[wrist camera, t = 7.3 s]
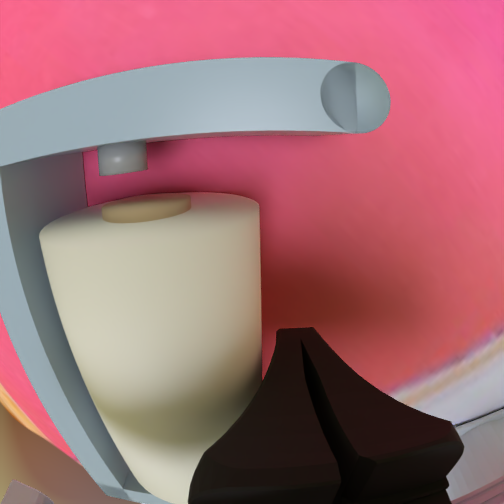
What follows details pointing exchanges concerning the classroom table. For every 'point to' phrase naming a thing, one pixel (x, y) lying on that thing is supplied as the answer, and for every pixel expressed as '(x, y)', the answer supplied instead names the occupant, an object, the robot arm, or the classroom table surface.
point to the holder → (132, 160)
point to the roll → (162, 322)
